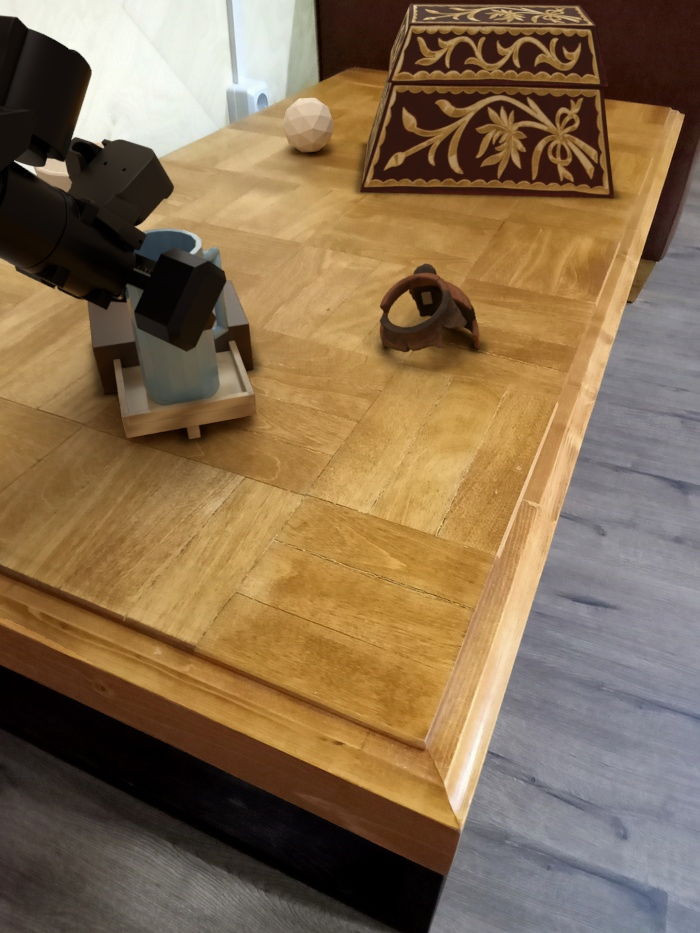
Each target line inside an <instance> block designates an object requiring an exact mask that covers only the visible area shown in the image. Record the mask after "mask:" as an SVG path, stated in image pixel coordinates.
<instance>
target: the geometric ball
mask: <svg viewBox="0 0 700 933" xmlns="http://www.w3.org/2000/svg"><path fill="white" fill-rule="evenodd" d="M334 127H335V122H334V118H333V117H332V114H331V111H330V108H329V106H327V105H326V104H324V103H323V102H322V101H320V100H319V99H318V98H316V97H302V98H297V99H296V100H295V101H294V103H292V104H291V105H290V106H289V107H287V109H285V113H284V117H283V122H282V130H283V132H284V134H285V138H286V140H287V143H288V144H289V145H290V146H292V147H293V148H295V149H296V150H298V151H299V152H301V153H314V152H319V151H320V150H321V149H322V148H324V147H325V146H326V145H327V144H328V143H329V142H330V141H331V139H332V136H333V134H334Z"/></svg>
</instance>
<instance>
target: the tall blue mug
mask: <svg viewBox="0 0 700 933" xmlns="http://www.w3.org/2000/svg"><path fill="white" fill-rule="evenodd" d="M142 232H144V233H145V234H147V236H146V238H145V240H144V243H143V245H142V247H141V249H140V250H136V249H135V251H134V253H137V254H139V255H142V256H144V257H147V258H149V259H152V260H154V261H158V259H159V257H160V254H161V253H164V252H166V251H168V250H170V249H172V248H174V247H175V248H178V249H180V250H183V251H186V252H188V253H191V254H193V255H196V256H198V257H201V258H204V259H206V260H209V261H210V262H212V263H213V264H215V265H216V266H218V267H219V268H220V269H222V270H223V268H222V259H221V252H220V249H219V247H217V246H211V247H208V248H206V249H204V244H203V240H202V238H201V237H199V235H197V234H196V233H195V232H193V231H192V232H191V231H188V230H186V229H182V228H181V229H180V228H172V227H171V228H169V227H168V228H167V227H166V228H153V229H148V230H142ZM134 270H135V271H137V272H139V273H142V274H144V275H147V276H149V277H150V276H151V275H150V274H147V273H145V272H143V271H141V270H138V269H135V268H134ZM125 287H127V288H126V292H125V295H126V300H127V305H128V309H129V314H130V319H131V324H132V329H133V334H134V338H135V343H136V348H137V353H138V358H139V363H140V368H141V372H142V377H143V382H144V387H145V389H146V393H147V395H148V397H149V398H150V399H151V400H152V401H154V402H156V403H158V404H160V405H164V406H167V405H173V404H178V403H184V402H190V401H195V400H201V399H207V398H210V397H212V396H213V395H214V394H215V393H216V392H217V390H218V388H219V386H220V379H219V368H218V360H217V353H216V345H215V339H217V338H218V337H220V336H222V335H224V334H225V333H227V332H228V329H229V328H228V319H227V310H226V302H225V293H224V288H223V290H222V292H221V294H220V296H219V298H218V301H217V303H216V305H215V315H216V323H217V325H216V326H214V327H212V329H210V330H205V331H203V333H202V335H201V337H200V339H199V341H198V343H197V345H196V347H195V348H193V349H191V350H189V351H187V352H186V351H184V350H182V349H180V348H177V347H175V346H173V345H171V344H169V343H167V342H165V341H163V340H161V339H158V338H156V337H154V336H152V335H150V334H148V333H146V332H144V331H142V330H140V329H138V328H137V325H136V320H135V315H134V310H135V308H136V306H137V304H138V302H139V300H140V297H141V295H142V293H143V291H142V290H140V289H137V288H135V287H133V286H131V285H128V284H127V285H126V286H125Z"/></svg>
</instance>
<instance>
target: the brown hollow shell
mask: <svg viewBox="0 0 700 933" xmlns="http://www.w3.org/2000/svg"><path fill="white" fill-rule="evenodd" d="M407 292H408V293H409V295H410V296H411V298H412V300H413V301H414V302H415V305H416V310H417V311H418V313H419V317H421V318H425V317H428V318H427V319H425V320H424V321H421V322H420V323H418V324H415V325H412V326H401V325H396V324H395V323H393V322H391V320H390V319H389V314H390V310H391V309H392V307H393V306H394V304H395V302H396V301H397V300H398V299H399V298H400V297H401V296H403V295H404V294H405V293H407ZM379 308H380V309H381V310H382V315H381V317H380V319H379V322H380V324H379V336H380V340H381V343H382V345H383V347H385V348H389V349H392V350H394V351H398V352H402V353H408V352H410V351H412V352H417V351H421V350H423V349H426V348H427V349H428V348H432V347H433V348H435V349H436V348H437V349H445V346H444V344H443V336H442V335H443V334H442V332H443V331H442V329H443V327H444V328H446V329H449V330H450V329H457V328H459V329H463V328H464V329H466V330H468V331H469V332H470V333H471V335H472V339H473V345H474V348H475V350H478V349H480V345H481V344H480V342H481V341H480V329H479V323H478V321H477V316H476V311H475V308H474V306H473V305H472V303H471V299H470V298H469V297H468V296H467V294H466V293H465V292H464V291H463V290H462V289H461V288H460V287H458V286H457V285H455V284H453V283H452V282H449V281H446V280H445V279H444V278H442V277H441V276H440V275H438V274H437V270H436V268H435V267H434V265H432V264H430V263H422V264H421V265H418V266H417V267H416V268H415V269H414V271H413V274H411V275H409V276H406V277H404V278H402V279H400V280H399V281H398V282H396V283H395V284H393V286H391V287H390V288H389V289H388V291H387V292H386V293H385V294H384V296H383V298H382V299H381V301H380V304H379Z"/></svg>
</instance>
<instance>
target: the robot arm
mask: <svg viewBox="0 0 700 933" xmlns="http://www.w3.org/2000/svg"><path fill="white" fill-rule="evenodd" d="M92 75H93V70H92V67H91V65H90V64H89V62H88V61H87V60H86V58H85V57H84V56H83V55H82V54H81V53H80V52H79V51H77V50H76V49H73V48H69V47H68V46H67V45H65V44H63V43H61V42H60V41H58V40H56V39H55V38H53V37H51V36H48V35H46V34H45V33H42V32H40V31H37V30H35V29H32V28H29V27H28V26H27V25H26V24H25V23H24V22H23V21H22V20H21V19H20V18H19V17H18V16H11V15H2V14H0V259H1V260H3V261H5V262H7V263H8V264H10V265H12V266H14V269H15V272H18V273H20V274H22V275H23V276H25V277H28V278H29V279H32V280H34V281H36V282H38V283H41V284H42V285H45V286H47V287H49V288H51V289H53V290H55V289H57V290H58V291H59V292H61V293H63V294H65V295H67V296H70V297H72V298H74V299H76V300H82V301H86V302H87V301H88V302H91V303H93V304H95V305H97V306H99V307H101V308H103V309H105V310H107V309H108V307H109V305H110V303H111V302H122V303H127V300H126V295H125V292H126V288H127V287H125V286H126V285H127V284H128V285H131V286H133V287H135V288H137V289H140V290H142V291H143V293H142V295H141V297H140V300H139V302H138V304H137V306H136V308H135V310H134V315H135V320H136V325H137V328H138V329H140V330H142V331H144V332H146V333H148V334H150V335H152V336H154V337H156V338H158V339H161V340H163V341H165V342H167V343H169V344H171V345H173V346H175V347H177V348H180V349H182V350H184V351H186V352H187V351H189V350H191V349H193V348H195V347H196V345H197V343H198V341H199V339H200V337H201V335H202V333H203V331H205V330H210V329H212V327H213V325H214V323H215V321H216V316H215V315H214V313H213V312H212V311H213V309H214V307H215V305H216V303H217V301H218V298H219V296H220V294H221V292H222V290H223V288H224V286H225V283H226V281H228V279H227V276H226V272H225V270H223V268H222V269H220V268H219V267H218V266H216V265H215V264H213V263H212V262H210V261H209V260H206V259H204V258H201V257H198V256H196V255H193V254H191V253H188V252H186V251H183V250H180V249H178V248H175V247H174V248H172V249H170V250H168V251H166V252H164V253H161V254H160V257H159V259H158V261H154V260H152V259H149V258H147V257H144V256H142V255H139V254H137V253H134V251H135V249H136V250H140V249H141V247H142V245H143V243H144V240H145V238H146V236H147V234H145V233H144V232H143V230H141V229H140V228H137V227H138V226H140V225H142V224H143V223H144V222H145V221H146V220H147V219H148V217H150V215H151V214H152V213H153V212H154V211H155V210H156V209H157V208H158V207H159V205H160V204H161V203H162V202H163V201H164V200H168V199H169V198H170V197H171V195H172V194H173V193H174V189H175V185H174V183H173V181H172V180H171V178H170V176H169V174H168V173H167V171H166V170H165V167H164V166H163V165H162V163H161V161H160V160H159V157H158V156H157V154H156V153H155V151H154V149H153V148H151V147H148V146H146V145H142V144H138V143H135V142H133V141H129V140H126V139H121V138H120V139H114V140H110V139H106V138H103V139H102V141H100V142H101V143H102V145H103V146H104V148H101V147H100V146H98V145H96V144H94V143H92V142H93V141H90V140H87V139H83V138H81V137H77V136H75V137H74V134H75V130H76V127H77V124H78V120H79V118H80V114H81V111H82V108H83V104H84V101H85V98H86V95H87V91H88V89H89V85H90V81H91V78H92ZM47 158H49V159H56V160H58V161H60V162H65V163H66V168H67V172H68V175H69V179H70V180H71V182H72V184H71V188H70V189H69V191H68V192H65V191H64V190H62V189H60V188H58V187H55V186H52V185H51V184H49V183H48V182H46V181H44V180H43V179H41V178H40V177H38V176H37V174H36V173H34V172H32V171H30V170H29V169H27V168H25V167H24V166H23V165H26V166H29V167H33V166H34V167H43V166H45V164H46V161H47ZM21 164H23V165H21ZM34 167H33V168H34ZM134 268H135V269H138V270H141V271H143V272H145V273H147V274H150V275H151V276H150V277H149V276H147V275H144V274H142V273H139V272H137V271H135V270H134ZM88 302H87V303H88Z"/></svg>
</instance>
